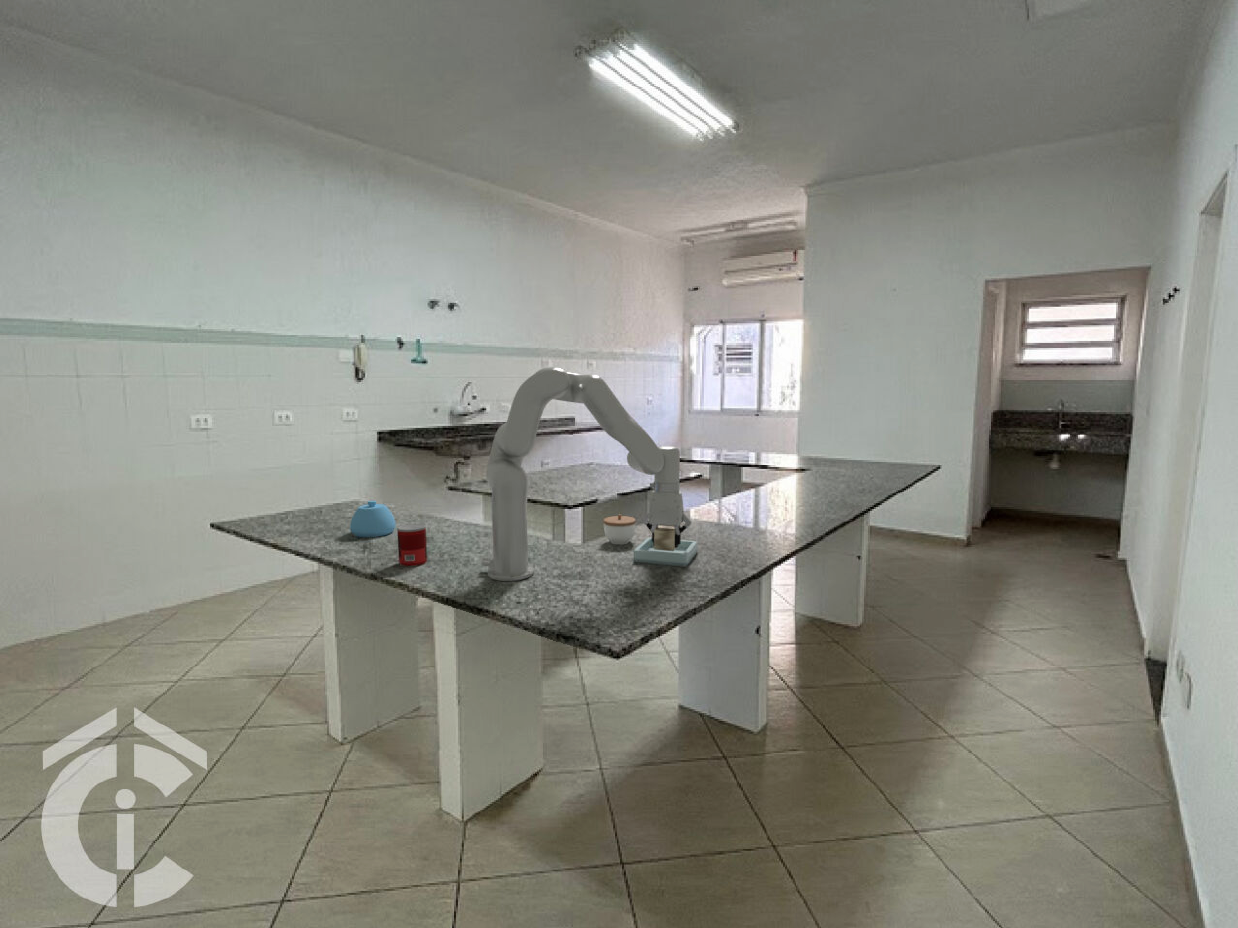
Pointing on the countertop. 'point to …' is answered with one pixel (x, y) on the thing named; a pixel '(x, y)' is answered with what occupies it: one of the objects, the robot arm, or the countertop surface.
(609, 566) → the countertop surface
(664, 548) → the birch block
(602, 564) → the countertop surface
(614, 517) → the lidded jar
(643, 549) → the teal tray
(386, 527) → the sugar bowl
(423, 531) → the canned food
